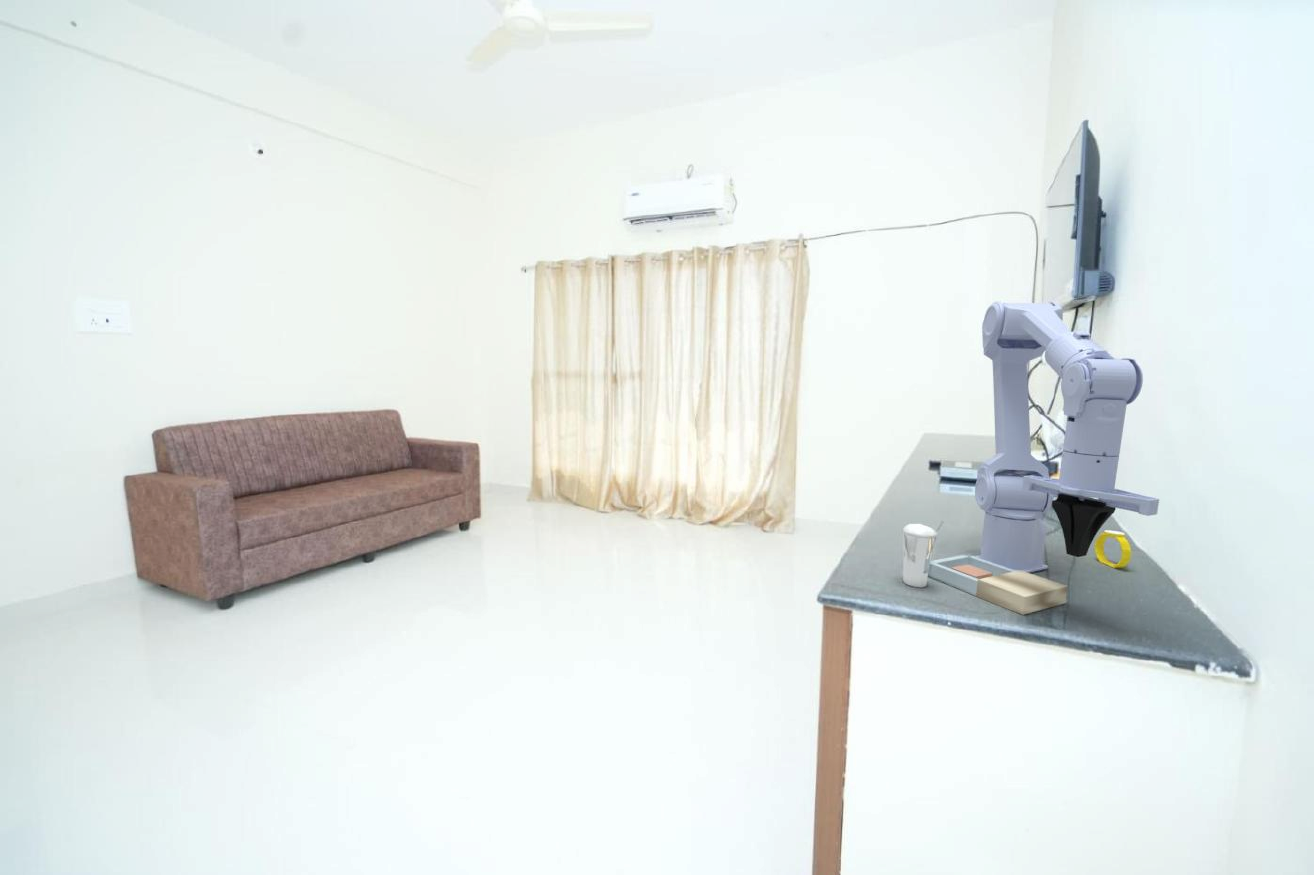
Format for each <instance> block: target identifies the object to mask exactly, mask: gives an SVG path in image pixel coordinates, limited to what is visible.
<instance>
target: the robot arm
mask: <svg viewBox="0 0 1314 875" xmlns="http://www.w3.org/2000/svg"><path fill="white" fill-rule="evenodd" d="M1063 316H1064V309H1063V307H1062V306H1060V305H1059V303H1057V302H1056V301H1055V302H1054V301H1051V302H1050V301H1049V302H1001V301H994V302H992V304H991V305H990V306H989V307H988V308H987V309H986V311H985V314H984V319H983V321H982V326H981V327H982V328H981V330H982V331H981V333H982V336H981V337H982V348H983V355H984V356H985V357H987V358H989V359H990V360H991V361H992V378H993V379H992V380H993V409H994V411H993V413H994V438H995V439H994V440H995V446H994V447H995V455H994V456H992V457H990V458H989V459H988V460H986V461H984V462H983V463H981V464H980V465H979V467H978V468H977V475H976V482H975V486H974V487H975V488H974V497H975V502H976V504H977V505H978V506H979V508H980V509H981V510H983V511H984V516H983V517H984V518H983V519H984V520H983V527H982V537H981V544H980V554H979V555H973V556H974V557H977V558H980V559H983V560H986V561H989V562H992V563H995V564H998V565H1001V566H1004V567H1006V568H1009V569H1012V570H1015V571H1019V570H1021V571H1024V572H1027V573H1030V574H1031V573H1034V572H1039V571H1042V570H1047V569H1049V565H1047V564H1045V563H1043V560H1044V553H1045V547H1046V546H1045V545H1046V539H1047V527H1046V524H1045V523H1044V521H1043V519H1042V516H1043V515H1044V514H1046V513H1047V512H1049V510H1051V508H1053V510H1054V513H1055V515H1056V516H1057V519H1058V520H1059V524H1060V527H1061V530H1062V534H1063V537H1064V542H1065V543H1064V544H1065V551H1066V554H1067V555H1068V556H1073V557H1077V558H1080V557H1085V556H1087V554H1088V552H1089V549H1090V547H1091V545H1092V542H1093V540H1094V539H1095V537H1096V535H1097V534H1098V532H1099V531H1100V529H1101V528H1102V526H1103V525H1104V524H1105V523H1106V522H1107V521H1108V520H1109V518H1110V517H1111V516H1112V515H1113V514H1114V513H1115V511H1116V509H1121V510H1124V511H1129V512H1134V513H1138V514H1140V515H1142V516H1146V517H1147V516H1148V517H1149V516H1155V515H1158V511H1159V503H1160V499H1159V498H1157V497H1151V496H1146V495H1142V494H1139V493H1134V492H1130V491H1126V490H1122V489H1118V488H1116V487H1115V486H1116V480H1117V473H1118V467H1119V466H1118V465H1119V460H1120V454H1121V447H1122V446H1121V445H1122V439H1123V432H1124V425H1125V418H1126V410H1127V406H1128V405H1130V404H1132V403H1133V402H1135V400H1136V399H1137V398H1138V397H1139V395H1140V393H1141V390H1142V387H1143V382H1144V378H1143V377H1144V375H1143V374H1144V373H1143V371H1142V368H1141V365H1140V364H1139V363H1138V362H1137V361H1136V359H1135V358H1131V357H1122V358H1120V357H1119V358H1118V357H1116V358H1115V357H1113V356H1112V354H1110V353H1109V352H1108V350H1107V349H1105V348H1104V347H1102V346H1100V345H1099V343H1097V342H1096V341H1095V340H1094V339H1093V338H1091V336H1092V334H1091V333H1090V332H1088V331H1087V330H1074V331H1071V330H1070V329H1069V327H1068V326H1067V325H1066V324H1065V323H1064V320H1063V319H1064V318H1063ZM1043 354H1044V359H1045V362H1046V363H1047V364H1048V365H1049V367H1050V368H1051V369H1052V370H1053V371H1054V372H1055V373H1056V375H1057V376H1059V377H1060V379H1061V381H1060V388H1061V391H1060V392H1061V395H1062V397H1063V398H1062V399H1063V408H1062V411H1063V415H1064V416H1067V417H1066V423H1065V424H1066V425H1065V431H1064V440H1063V446H1062V447H1063V448H1062V452H1061V453H1062V454H1061V462H1060V469H1059V470H1060V471H1059V475H1058V476H1059V478H1053V477H1050V475H1049V468H1048V466H1046V465H1045V464H1043V463H1042V462H1041V461H1040V460H1038V459H1036V457H1034V456H1033V455H1032V451H1031V450H1032V449H1031V446H1032V444H1031V426H1030V405H1029V404H1030V402H1029V382H1028V381H1029V380H1028V363H1029V362H1030V361H1033V360H1034V359H1038V358H1040V357H1042V356H1043ZM1054 496H1056V497H1057V498H1056V499H1054V498H1055V497H1054Z"/></svg>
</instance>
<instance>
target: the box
mask: <svg viewBox="0 0 1314 875" xmlns="http://www.w3.org/2000/svg"><path fill="white" fill-rule="evenodd" d="M974 556H975V555H971V554H960V555H955V556H949V557H944V558H941V559H936V560H935V559H934V560H931V562H930V567H929V572H928V578H931V579H934V580H936V581H938V582H941V583H943V584H946V585H948V586H950V587H953V588H955V589H958V590H960V591H963V592H965V593H966V594H970V595H971V596H975V597H977V596H976V592H977V583H978V579H977V578H974V577H972V576H969V575H966V574H964V573H961V572H958V571H956V570H953V569H951V568H952V567H957V566H962V565H967V564H969V565H971V566H974V567H977V568H980V569H983V570H985V571H988V572H991V573H993V576H996V575H1001V574H1005V573H1010V572H1015V570H1012V569H1009V568H1006V567H1004V566H1001V565H998V564H995V563H992V562H989V561H986V560H983V559H980V558H977V557H974Z"/></svg>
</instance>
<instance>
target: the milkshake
mask: <svg viewBox="0 0 1314 875" xmlns="http://www.w3.org/2000/svg"><path fill="white" fill-rule="evenodd" d="M943 524H944V520H942V521H941V522H940V524H939V526H938V527H937V529H936V530H934V529H933V528H932V527H930V526H927V525H924V524H922V523H909V524H907V525H905V526H904V527H903V529H902V540H903V542H902V544H903V546H902V547H903V548H902V549H903V565H902V567H903V568H902V569H903V570H902V582H903V583H904V584H906V585H908V586H910V587H914V588H925V587H927V582H928V578H929V577H928V572H929V567H930V562H931V561H932V556H933V553H934V548H935V545H936V540H937V536H938V535H937V533H938V532H939V530H940V528H941V527H942V525H943Z"/></svg>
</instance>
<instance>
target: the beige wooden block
mask: <svg viewBox="0 0 1314 875" xmlns="http://www.w3.org/2000/svg"><path fill="white" fill-rule="evenodd" d="M1068 587H1069V585H1066V584H1063V583H1060V582H1057V581H1054V580H1052V579H1051V580H1050V579H1048V578H1045V577H1042V576H1039V575H1036V574H1032V573H1031V572H1030V573H1027V572H1024V571H1021V570H1019V571H1015V572H1010V573H1005V574H1001V575H996V576H992V577H987V578H982V579H978V583H977V592H976V596H975V597H978V598H980V599H983V600H985V601H987V602H990V603H992V604H994V605H997V606H1000V607H1002V608H1005V609H1007V610H1010V611H1012V612H1014V613H1017V614H1020V615H1022V616H1025V615H1027V614H1031V613H1034V612H1039V611H1042V610H1046V609H1049V608H1053V607H1056V606H1060V605H1063V604H1066V602H1067V598H1068V597H1067V595H1068Z"/></svg>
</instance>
